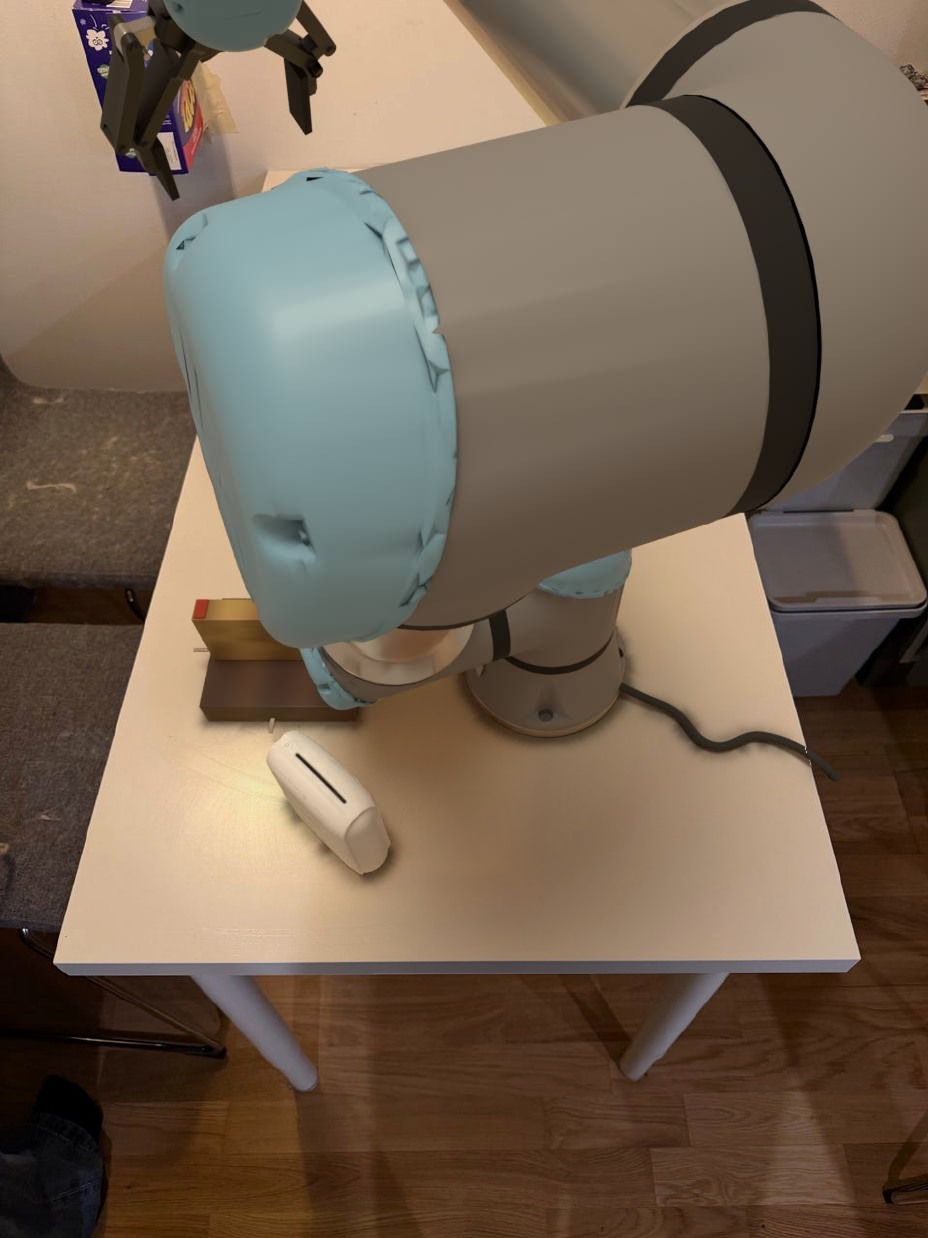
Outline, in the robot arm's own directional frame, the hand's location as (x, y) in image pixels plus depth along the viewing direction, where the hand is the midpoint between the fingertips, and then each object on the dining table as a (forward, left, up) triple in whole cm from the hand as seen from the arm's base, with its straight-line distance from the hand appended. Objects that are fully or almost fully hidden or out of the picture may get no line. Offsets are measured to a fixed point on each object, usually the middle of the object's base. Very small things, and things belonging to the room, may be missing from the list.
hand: (235, 154), depth 75 cm
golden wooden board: (-28, +22, -28) cm, 45 cm away
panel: (-28, +22, -31) cm, 47 cm away
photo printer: (-44, +28, -31) cm, 61 cm away
